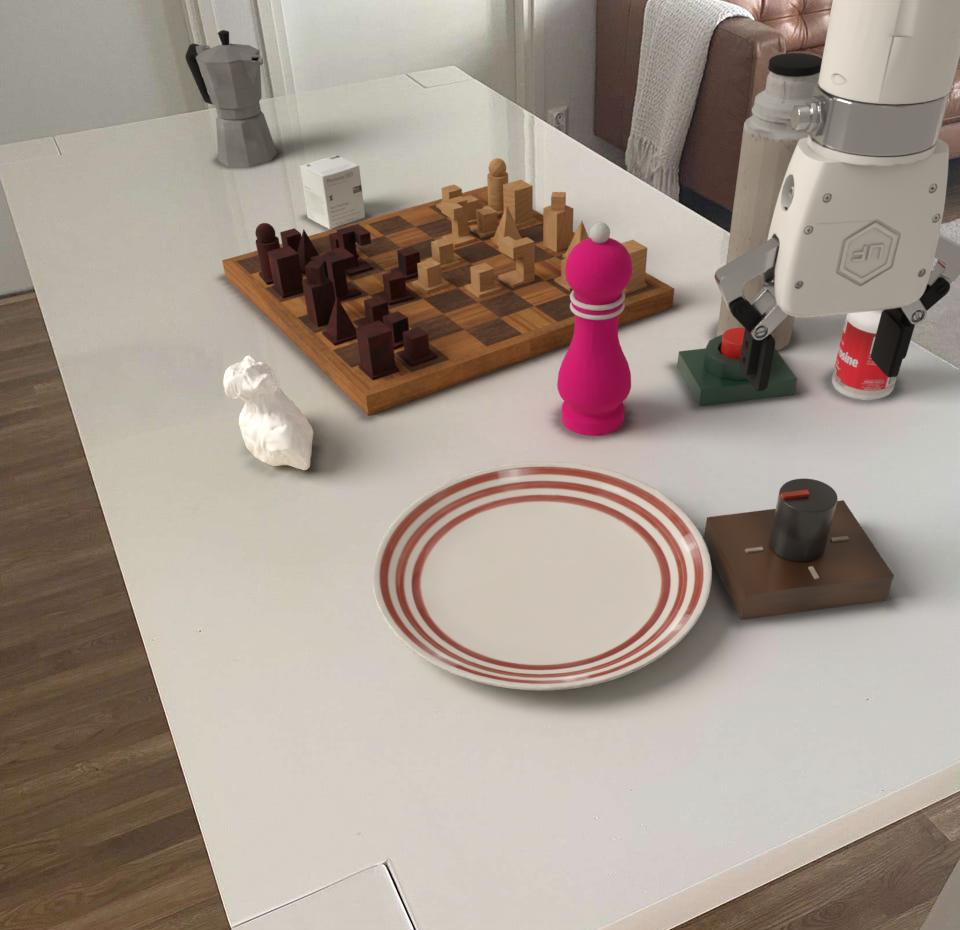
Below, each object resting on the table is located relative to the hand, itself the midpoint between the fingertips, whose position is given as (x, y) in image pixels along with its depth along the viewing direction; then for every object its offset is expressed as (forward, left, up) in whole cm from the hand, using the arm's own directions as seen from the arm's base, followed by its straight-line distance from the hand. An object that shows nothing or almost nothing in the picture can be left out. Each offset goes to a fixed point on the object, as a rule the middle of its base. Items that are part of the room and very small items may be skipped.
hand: (819, 374), depth 73 cm
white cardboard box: (+34, -83, -18) cm, 91 cm away
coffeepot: (+48, -111, -18) cm, 122 cm away
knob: (0, +1, -15) cm, 15 cm away
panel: (0, +1, -18) cm, 18 cm away
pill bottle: (-18, -25, -18) cm, 36 cm away
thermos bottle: (-11, -37, -18) cm, 43 cm away
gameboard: (+23, -56, -18) cm, 63 cm away
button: (-5, -29, -14) cm, 32 cm away
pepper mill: (+11, -25, -18) cm, 32 cm away
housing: (-5, -29, -18) cm, 34 cm away
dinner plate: (+20, -1, -18) cm, 27 cm away
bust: (+42, -25, -18) cm, 52 cm away
